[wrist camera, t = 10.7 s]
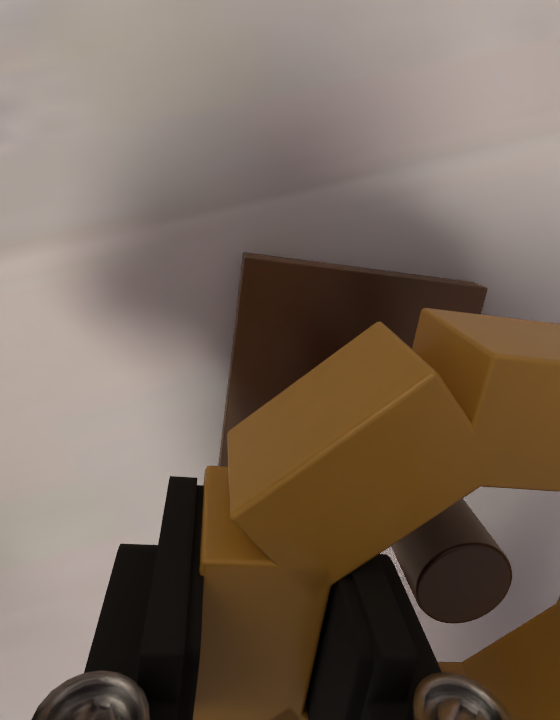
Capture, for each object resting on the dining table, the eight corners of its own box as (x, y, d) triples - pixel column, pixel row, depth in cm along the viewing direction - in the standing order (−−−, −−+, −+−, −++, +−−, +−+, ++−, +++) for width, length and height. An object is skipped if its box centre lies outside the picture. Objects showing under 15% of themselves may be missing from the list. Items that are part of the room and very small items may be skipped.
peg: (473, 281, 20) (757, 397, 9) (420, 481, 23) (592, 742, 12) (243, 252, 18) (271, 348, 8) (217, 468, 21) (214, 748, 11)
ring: (751, 346, 10) (919, 399, 8) (577, 718, 13) (656, 839, 11) (225, 283, 8) (227, 325, 6) (177, 722, 12) (166, 864, 9)
